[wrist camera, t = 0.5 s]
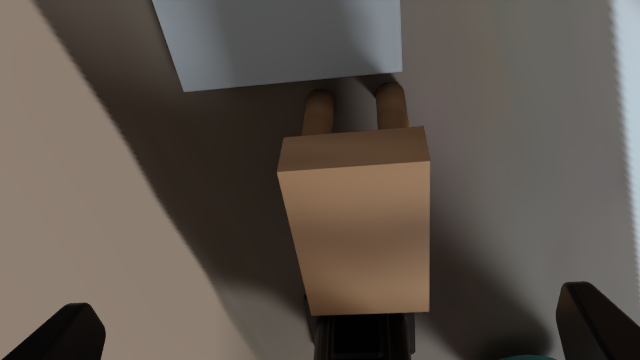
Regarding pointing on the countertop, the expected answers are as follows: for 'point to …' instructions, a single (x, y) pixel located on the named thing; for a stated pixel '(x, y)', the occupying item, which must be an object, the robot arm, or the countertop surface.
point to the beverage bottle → (528, 357)
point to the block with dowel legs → (359, 209)
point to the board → (279, 40)
